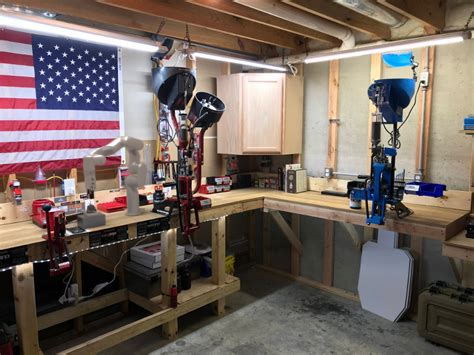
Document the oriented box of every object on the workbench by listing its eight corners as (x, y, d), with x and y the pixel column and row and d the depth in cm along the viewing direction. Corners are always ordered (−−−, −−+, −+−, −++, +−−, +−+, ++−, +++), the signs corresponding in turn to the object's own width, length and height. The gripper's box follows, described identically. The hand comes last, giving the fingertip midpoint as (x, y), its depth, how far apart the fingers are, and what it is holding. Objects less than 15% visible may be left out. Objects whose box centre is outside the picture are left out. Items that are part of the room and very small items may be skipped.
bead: (92, 198, 274) (92, 192, 273) (94, 199, 271) (94, 193, 270) (86, 198, 271) (86, 193, 271) (88, 199, 268) (88, 194, 268)
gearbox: (99, 222, 283) (98, 209, 282) (106, 225, 274) (105, 211, 273) (77, 226, 272) (76, 212, 271) (83, 229, 264) (82, 215, 262)
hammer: (58, 230, 274) (98, 218, 294) (55, 216, 272) (95, 204, 292) (56, 229, 278) (95, 217, 298) (52, 215, 275) (92, 203, 295)
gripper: (99, 173, 265) (100, 199, 267) (90, 171, 278) (91, 196, 280) (88, 174, 260) (90, 200, 262) (79, 172, 273) (81, 197, 275)
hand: (90, 198), depth 271 cm, fingers closed on bead, 3 cm apart
